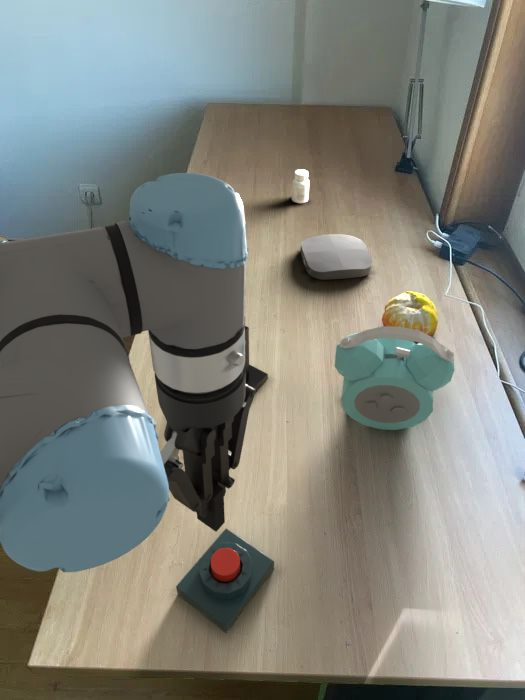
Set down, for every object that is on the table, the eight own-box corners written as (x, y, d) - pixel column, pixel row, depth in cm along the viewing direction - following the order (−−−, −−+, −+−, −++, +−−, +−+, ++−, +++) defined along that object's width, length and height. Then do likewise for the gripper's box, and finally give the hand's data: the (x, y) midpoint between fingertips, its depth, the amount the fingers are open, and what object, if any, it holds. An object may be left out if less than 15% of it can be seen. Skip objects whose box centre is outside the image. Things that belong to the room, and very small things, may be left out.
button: (227, 588, 68) (227, 581, 67) (205, 571, 70) (204, 564, 69) (245, 565, 70) (245, 558, 69) (223, 549, 72) (223, 542, 71)
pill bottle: (311, 200, 149) (313, 172, 144) (300, 205, 147) (301, 177, 142) (299, 194, 152) (301, 166, 146) (288, 199, 149) (289, 171, 144)
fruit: (375, 307, 115) (393, 276, 109) (422, 321, 116) (441, 291, 111) (379, 342, 106) (399, 310, 101) (429, 357, 108) (451, 326, 103)
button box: (226, 633, 68) (225, 619, 65) (177, 594, 71) (174, 579, 69) (274, 569, 74) (275, 554, 71) (226, 536, 77) (225, 520, 75)
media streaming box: (375, 277, 123) (377, 266, 121) (309, 282, 122) (310, 271, 120) (357, 242, 134) (359, 231, 132) (297, 246, 132) (297, 235, 130)
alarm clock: (432, 401, 96) (461, 309, 83) (435, 445, 89) (467, 352, 76) (330, 388, 98) (342, 296, 85) (325, 430, 91) (337, 337, 78)
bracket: (233, 412, 94) (230, 356, 85) (192, 389, 98) (186, 333, 89) (268, 378, 100) (269, 323, 91) (228, 358, 104) (225, 302, 95)
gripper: (180, 436, 41) (197, 586, 56) (282, 342, 49) (272, 497, 64) (108, 390, 44) (144, 545, 60) (215, 309, 52) (222, 464, 68)
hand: (210, 520), depth 62 cm, fingers closed
